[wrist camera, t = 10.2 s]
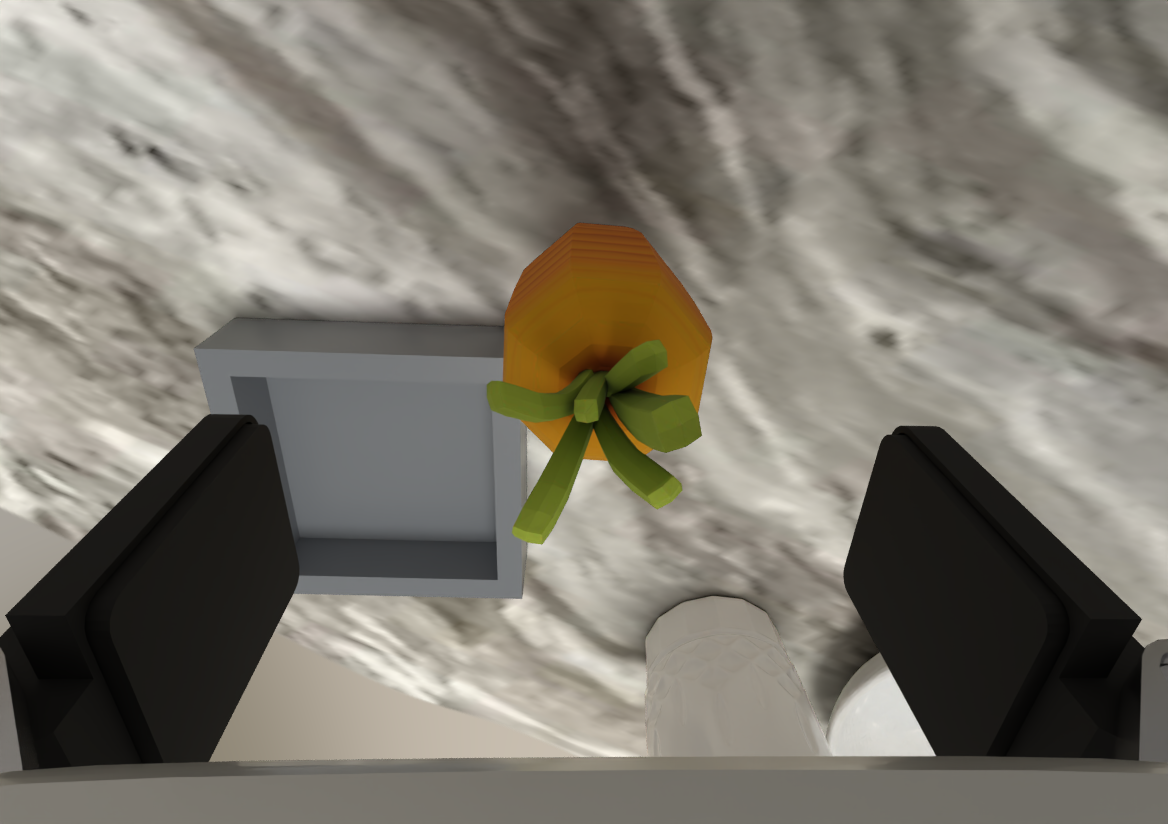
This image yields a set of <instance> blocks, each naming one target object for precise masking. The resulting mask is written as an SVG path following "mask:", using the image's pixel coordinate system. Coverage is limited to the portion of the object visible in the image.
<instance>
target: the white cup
mask: <svg viewBox="0 0 1168 824" xmlns="http://www.w3.org/2000/svg"><path fill="white" fill-rule="evenodd" d="M645 650H646V672H647V688H646V692H645V705H646V719H645V725H646V742H647V757H716V756H833V754H832V752H831V750H830V747H829V745H828V742H827V740H826V737H825V735H824V733H823V730H822V728H821V725H820V723H819V720H818V718H817V716H816V713H815V711H814V709H813V706H812V704H811V702H810V700H809V698H808V695H807V693H806V691H805V689H804V688H803V686H802V683H801V680H800V678H799V676H798V673H797V671H796V669H795V667H794V665H793V664H792V662H791V661H790V660H789V658H788V655H787V653H786V650H785V648H784V645H783V643H782V640H781V638H780V635H779V633H778V631H777V630H776V628H775V626H774V624H773V623H772V621H771V619H770V618H769V616H768V614H767V613H766V612H765V611H763V610H761V609H759V608H758V607H756V606H754V605H752V604H751V603H749V602H747V601H745V600H743V599H737V598H729V597H720V596H709V597H704V598H700V599H695V600H691V601H686V602H683V603H681V604H679V605H678V606H676V607H674V608H673V609H671V610H670V611H668V612H667V613H665V614H663V615H662V616H660V617H659V618H658V619H657V621H656V622H655V624H654V626H653V627H652V629H651V630H650V632H649V634H648V635H647V637H646V639H645Z"/></svg>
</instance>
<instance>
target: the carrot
mask: <svg viewBox="0 0 1168 824" xmlns="http://www.w3.org/2000/svg"><path fill="white" fill-rule="evenodd" d="M711 343H712V333H711V330H710V328H709V326H708V325H707V323H706V321H705V320H704V318H703V316H702V314H701V313H700V311H699V309H698V307H697V306H696V304H695V303H694V301H693V300H692V298H691V297H690V295H689V294H688V292H687V291H686V290H685V288H684V287H683V285H682V284H681V282H680V281H679V280H678V279H677V277H676V276H675V275H674V273H673V272H672V271H671V270H670V268H669V267H668V266H667V265H666V263H665V262H664V261H663V260H662V258H661V257H660V256H659V254H658V253H657V252H656V251H655V249H654V248H653V247H652V246H651V244H650V243H649V242H648V241H647V239H646V238H645V237H644V235H643V234H642V233H641V232H639V231H637V230H635V229H633V228H629V227H624V226H612V225H601V224H589V223H577V224H576V225H575V226H573V227H572V228H571V229H570V230H569V231H568V232H566V233H565V234H564V235H563V236H562V237H561V238H559V239H558V240H557V241H556V242H555V243H554V244H552V245H551V246H550V247H549V248H548V249H547V250H545V251H544V252H543V253H542V254H541V255H540V256H539V257H537V258H536V259H535V260H534V261H533V262H532V263H531V264H530V265H528V266H527V267H526V268H525V269H524V270H523V272H522V275H521V277H520V279H519V281H518V283H517V285H516V287H515V289H514V291H513V294H512V297H511V299H510V302H509V305H508V307H507V310H506V313H505V325H504V357H503V382H502V381H490V382H489V383H488V384H487V399H488V403H489V406H490V409H491V410H492V411H494V412H497V413H499V414H502V415H504V416H507V417H511V418H515V419H519V420H521V421H522V422H523V423H524V424H525V425H526V426H527V427H528V428H529V429H530V430H531V431H532V432H533V433H534V434H535V435H536V436H537V437H538V438H539V439H540V440H541V441H542V442H543V443H544V444H545V445H546V446H547V447H548V448H549V449H550V450H551V451H552V452H553V455H552V456H551V458H550V460H549V462H548V464H547V466H546V467H545V469H544V471H543V473H542V475H541V477H540V479H539V480H538V482H537V484H536V486H535V487H534V489H533V491H532V492H531V494H530V496H529V498H528V499H527V501H526V503H525V504H524V506H523V508H522V510H521V512H520V514H519V516H518V518H517V520H516V522H515V524H514V526H513V529H512V534H513V535H514V536H515V537H517V538H519V539H521V540H523V541H526V542H528V543H536V544H543V543H544V541H545V540H546V538H547V537H548V535H549V534H550V533H551V531H552V530H553V528H554V526H555V524H556V522H557V520H558V518H559V516H560V514H561V512H562V510H563V508H564V506H565V504H566V502H567V500H568V498H569V495H570V493H571V490H572V487H573V484H574V482H575V479H576V476H577V474H578V471H579V468H580V465H581V463H582V460H583V459H590V460H604V461H608V462H609V464H610V466H611V468H612V470H613V472H614V473H615V474H616V475H617V476H618V477H619V478H620V479H621V480H622V481H623V482H624V483H625V484H626V485H627V486H628V487H629V488H630V489H631V490H632V491H633V492H635V493H636V494H637V495H639V496H640V497H641V498H642V499H644V500H645V501H646V502H648V503H649V504H650V505H652V506H653V507H654V508H656V509H659V508H661V507H663V506H665V505H667V504H668V503H670V502H672V501H673V500H674V499H675V498H676V497H677V496H678V494H679V493H680V492H681V491H682V485H681V483H680V482H679V481H678V480H677V479H676V478H675V477H674V476H673V475H671V474H670V473H669V472H668V471H666V470H665V469H664V468H662V467H661V466H660V465H658V464H657V463H656V462H655V461H653V460H652V459H650V458H649V457H648V456H646V454H647V453H649V452H650V451H652V450H653V449H655V450H658V451H661V452H664V453H667V452H670V451H673V450H677V449H680V448H683V447H686V446H688V445H689V444H691V443H692V442H694V441H695V440H696V439H698V438H699V437H701V436H702V433H701V428H700V422H699V416H698V411H699V405H700V400H701V395H702V390H703V385H704V379H705V374H706V369H707V364H708V359H709V353H710V348H711Z"/></svg>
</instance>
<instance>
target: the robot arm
mask: <svg viewBox="0 0 1168 824" xmlns="http://www.w3.org/2000/svg"><path fill="white" fill-rule="evenodd" d="M298 580H299V561H298V556H297V552H296V547H295V543H294V538H293V533H292V529H291V524H290V520H289V515H288V510H287V506H286V501H285V497H284V492H283V488H282V483H281V478H280V474H279V469H278V465H277V460H276V455H275V451H274V446H273V442H272V437H271V433H270V430H269V428H268V427H267V426H266V425H264V424H258V422H257V420H256V419H255V417H253V416H252V415H242V414H209V415H207V416H206V417H204V418H203V419H202V420H201V421H200V422H199V423H198V424H197V425H196V426H195V427H194V428H193V429H192V430H191V431H190V432H189V433H188V434H187V435H186V436H185V437H184V438H183V439H182V440H181V441H180V442H179V443H178V444H177V445H176V446H175V447H174V448H173V449H172V450H171V451H170V452H169V453H168V454H167V455H166V456H165V457H164V458H163V459H162V460H161V461H160V462H159V463H158V464H157V465H156V466H155V467H154V468H153V469H152V470H151V471H150V472H149V473H148V474H147V475H146V476H145V477H144V478H143V479H142V480H141V481H140V482H139V483H138V484H137V485H136V486H135V487H134V488H133V489H132V490H131V491H130V492H129V493H128V494H127V495H126V496H125V497H124V498H123V499H122V500H121V501H120V502H119V503H118V504H117V505H116V506H115V507H114V508H113V509H112V510H111V511H110V512H109V513H108V514H107V515H106V516H105V517H104V518H103V519H102V520H101V521H100V522H99V523H98V524H97V525H96V526H95V527H94V528H93V529H92V530H91V531H90V532H89V533H88V534H87V535H86V536H85V537H84V538H83V539H82V540H81V541H80V542H79V543H78V544H77V545H76V546H75V547H74V548H73V549H72V550H71V551H70V552H69V553H68V554H67V555H66V556H65V557H64V558H62V559H61V560H60V562H58V563H57V564H56V566H54V567H53V568H52V569H51V570H50V571H49V572H48V574H47V575H45V576H44V577H43V578H42V579H41V580H40V581H39V582H38V583H37V584H36V585H35V586H34V587H33V588H32V589H31V590H30V591H29V592H28V593H27V594H26V596H24V597H23V598H22V599H21V600H20V601H19V602H18V603H17V604H16V605H15V606H14V607H13V608H12V609H11V610H10V611H9V612H8V614H6V615H5V616H6V618H7V620H8V621H9V624H10V626H11V627H10V628H9V629H8V630H7V631H6V632H5V633H4V634H3V635H2V636H1V637H0V824H1168V639H1162V640H1156V641H1155V642H1153V643H1151V644H1149V645H1147V646H1146V647H1145V648H1144V647H1143V646H1142V645H1141V644H1140V643H1139V642H1138V641H1137V640H1136V639H1135V638H1134V637H1133V636H1132V635H1133V633H1134V632H1135V630H1136V628H1137V627H1138V625H1139V623H1140V622H1141V620H1142V619H1141V618H1140V617H1139V616H1138V615H1137V614H1136V613H1135V612H1134V611H1133V610H1132V609H1131V608H1130V607H1129V606H1128V605H1127V604H1126V603H1124V602H1123V601H1122V600H1121V599H1120V598H1119V597H1118V596H1117V595H1116V594H1115V593H1114V592H1113V591H1112V590H1111V589H1110V588H1109V587H1108V586H1107V585H1106V584H1105V583H1104V582H1102V581H1101V580H1100V579H1099V578H1098V577H1097V576H1096V575H1095V574H1094V573H1093V572H1092V571H1091V570H1090V569H1089V568H1088V567H1087V566H1086V565H1085V564H1084V563H1083V562H1082V561H1081V560H1079V559H1078V558H1077V557H1076V556H1075V555H1074V554H1073V553H1072V552H1071V551H1070V550H1069V549H1068V548H1067V547H1066V546H1065V545H1064V544H1063V543H1062V542H1061V541H1060V540H1059V539H1058V538H1056V537H1055V536H1054V535H1053V534H1052V533H1051V532H1050V531H1049V530H1048V529H1047V528H1046V527H1045V526H1044V525H1043V524H1042V523H1041V522H1040V521H1039V520H1038V519H1037V518H1036V517H1035V516H1033V515H1032V514H1031V513H1030V512H1029V511H1028V510H1027V509H1026V508H1025V507H1024V506H1023V505H1022V504H1021V503H1020V502H1019V501H1018V500H1017V499H1016V498H1015V497H1014V496H1013V495H1011V494H1010V493H1009V492H1008V491H1007V490H1006V489H1005V488H1004V487H1003V486H1002V485H1001V484H1000V483H999V482H998V481H997V480H996V479H995V478H994V477H993V476H992V475H991V474H990V473H988V472H987V471H986V470H985V469H984V468H983V467H982V466H981V465H980V464H979V463H978V462H977V461H976V460H975V459H974V458H973V457H972V456H971V455H970V454H969V453H968V452H967V451H965V450H964V449H963V448H962V447H961V446H960V445H959V444H958V443H957V442H956V441H955V440H954V439H953V438H952V437H951V436H950V435H949V434H948V433H947V432H946V431H945V430H943V429H942V428H940V427H936V426H899V427H897V428H896V429H895V430H894V432H893V433H892V435H886V436H885V437H884V438H883V439H882V441H881V444H880V447H879V450H878V453H877V457H876V460H875V464H874V467H873V471H872V474H871V477H870V481H869V484H868V488H867V491H866V495H865V498H864V501H863V505H862V508H861V512H860V515H859V519H858V522H857V525H856V529H855V532H854V536H853V539H852V543H851V546H850V549H849V553H848V556H847V560H846V563H845V567H844V584H845V588H846V590H847V593H848V595H849V596H850V598H851V600H852V602H853V604H854V606H855V607H856V609H857V611H858V613H859V615H860V617H861V619H862V620H863V622H864V624H865V626H866V628H867V630H868V631H869V633H870V635H871V637H872V639H873V641H874V642H875V644H876V646H877V648H878V650H879V652H880V654H881V655H882V657H883V659H884V661H885V663H886V665H887V666H888V668H889V670H890V672H891V674H892V676H893V678H894V679H895V681H896V683H897V685H898V687H899V689H900V690H901V692H902V694H903V696H904V698H905V700H906V702H907V703H908V705H909V707H910V709H911V711H912V713H913V714H914V716H915V718H916V720H917V722H918V724H919V725H920V727H921V729H922V731H923V733H924V735H925V737H926V738H927V740H928V742H929V744H930V746H931V748H932V749H933V751H934V753H935V755H936V756H716V757H565V758H564V757H555V758H449V759H447V758H442V759H363V760H362V759H361V760H359V759H358V760H278V761H276V760H275V761H229V762H209V760H210V758H211V756H212V754H213V752H214V750H215V748H216V746H217V744H218V742H219V740H220V738H221V736H222V734H223V732H224V730H225V728H226V726H227V724H228V722H229V720H230V718H231V716H232V714H233V712H234V710H235V708H236V706H237V705H238V703H239V700H240V698H241V696H242V694H243V692H244V691H245V689H246V687H247V685H248V682H249V681H250V679H251V676H252V675H253V673H254V671H255V669H256V667H257V665H258V663H259V661H260V659H261V657H262V655H263V653H264V651H265V649H266V647H267V645H268V643H269V641H270V639H271V637H272V635H273V633H274V631H275V629H276V627H277V625H278V623H279V621H280V619H281V617H282V615H283V613H284V611H285V609H286V607H287V605H288V603H289V601H290V599H291V597H292V595H293V593H294V591H295V589H296V587H297V584H298Z"/></svg>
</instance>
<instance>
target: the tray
mask: <svg viewBox="0 0 1168 824" xmlns="http://www.w3.org/2000/svg"><path fill="white" fill-rule="evenodd" d="M194 352H195V355H196V359H197V363H198V367H199V371H200V374H201V378H202V382H203V386H204V389H205V393H206V397H207V401H208V405H209V408H210V412H211V414H242V415H252V416H253V417H255V419H256V420H257V422H258V424H264V425H266V426H267V427H268V428H269V430H270V433H271V437H272V442H273V446H274V451H275V455H276V460H277V465H278V469H279V474H280V478H281V483H282V488H283V492H284V497H285V501H286V506H287V510H288V515H289V520H290V524H291V529H292V533H293V538H294V543H295V547H296V552H297V556H298V561H299V580H298V584H297V587H296V589H295V591H294V593H293V594H333V595H378V596H423V597H468V598H513V599H522V596H523V586H524V577H525V567H526V558H527V542H526V541H523V540H521V539H519V538H517V537H515V536H514V535H513V534H512V529H513V526H514V524H515V522H516V520H517V518H518V516H519V514H520V512H521V510H522V508H523V506H524V504H525V503H526V501H527V432H526V425H525V424H524V423H523V422H522V421H521V420H519V419H515V418H511V417H507V416H504V415H502V414H499V413H497V412H494V411H492V410H491V409H490V406H489V403H488V399H487V384H488V383H489V382H490V381H502V382H503V357H504V327H501V326H470V325H438V324H407V323H376V322H345V321H314V320H283V319H252V318H234V319H233V320H231V321H230V322H229V323H227V324H226V325H225V326H223V327H222V328H221V329H219V330H218V331H217V332H215V333H214V334H213V335H211V336H210V337H209V338H207V339H206V340H205V341H203V342H202V343H200V344H199V345H198V346H196V347H195V348H194Z"/></svg>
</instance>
